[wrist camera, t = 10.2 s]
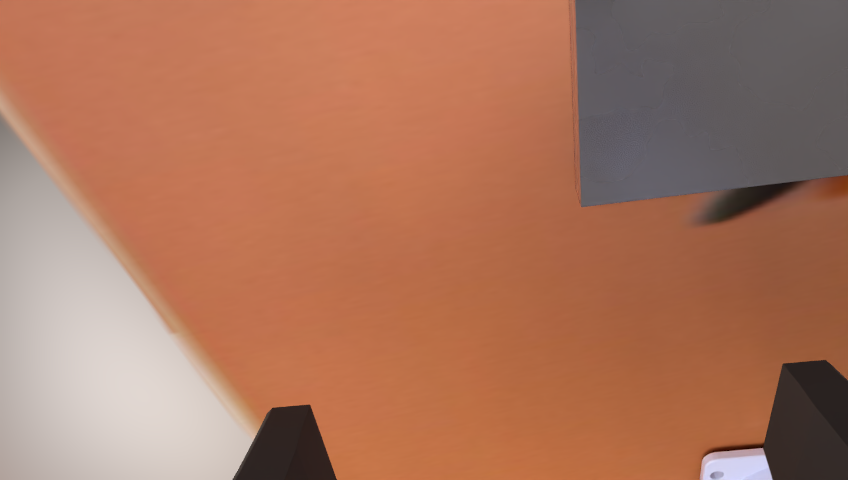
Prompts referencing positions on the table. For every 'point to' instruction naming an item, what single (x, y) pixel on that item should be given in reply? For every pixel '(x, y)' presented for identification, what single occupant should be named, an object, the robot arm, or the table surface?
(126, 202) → the table surface
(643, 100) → the gauge bench
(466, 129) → the table surface
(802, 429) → the robot arm
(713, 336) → the table surface
